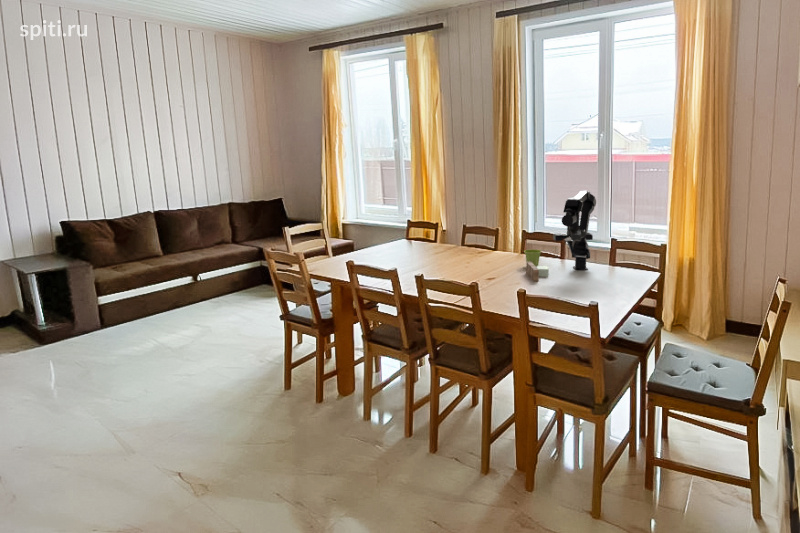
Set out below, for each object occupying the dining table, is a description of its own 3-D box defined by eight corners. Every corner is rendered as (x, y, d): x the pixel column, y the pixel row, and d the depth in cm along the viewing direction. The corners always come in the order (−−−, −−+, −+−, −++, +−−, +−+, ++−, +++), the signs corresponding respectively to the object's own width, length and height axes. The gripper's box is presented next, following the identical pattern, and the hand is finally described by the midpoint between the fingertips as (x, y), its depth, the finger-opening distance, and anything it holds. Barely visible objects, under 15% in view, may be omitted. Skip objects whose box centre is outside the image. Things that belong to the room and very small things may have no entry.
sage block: (536, 273, 304) (537, 265, 303) (548, 273, 302) (548, 266, 301) (536, 276, 297) (536, 269, 296) (548, 276, 296) (548, 269, 295)
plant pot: (520, 266, 319) (520, 251, 317) (531, 263, 325) (531, 248, 322) (533, 269, 312) (533, 253, 310) (544, 266, 317) (544, 251, 315)
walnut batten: (526, 272, 305) (526, 261, 303) (530, 272, 305) (531, 261, 303) (533, 281, 287) (533, 269, 286) (538, 281, 287) (538, 269, 286)
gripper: (558, 226, 281) (557, 257, 285) (596, 225, 281) (595, 256, 285) (553, 222, 292) (552, 252, 296) (590, 221, 292) (588, 251, 295)
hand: (572, 253), depth 293 cm, fingers closed
